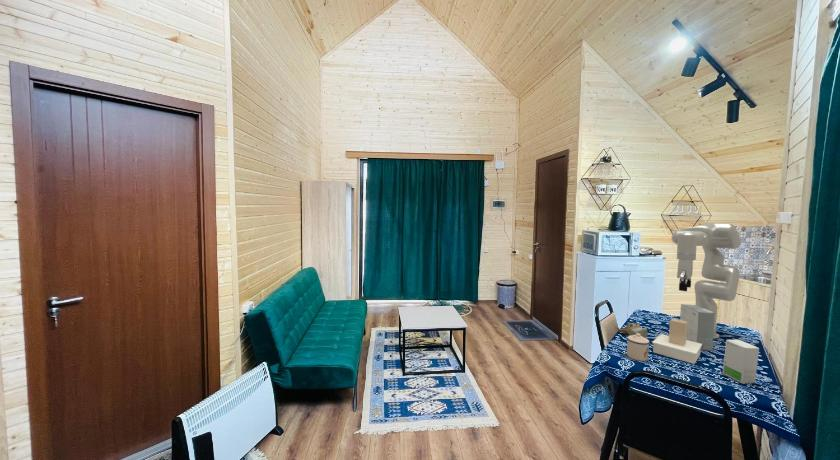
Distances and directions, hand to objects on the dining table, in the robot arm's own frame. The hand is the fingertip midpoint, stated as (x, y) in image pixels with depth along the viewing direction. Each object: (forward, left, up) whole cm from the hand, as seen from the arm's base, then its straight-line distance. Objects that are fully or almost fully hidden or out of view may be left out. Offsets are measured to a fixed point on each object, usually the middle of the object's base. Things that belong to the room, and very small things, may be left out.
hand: (684, 288), depth 165 cm
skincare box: (+21, +23, -32) cm, 44 cm away
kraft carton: (+11, 0, -26) cm, 28 cm away
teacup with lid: (+30, -12, -32) cm, 45 cm away
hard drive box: (-10, +4, -32) cm, 33 cm away
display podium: (+11, 0, -31) cm, 33 cm away
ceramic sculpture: (+2, -21, -32) cm, 38 cm away
